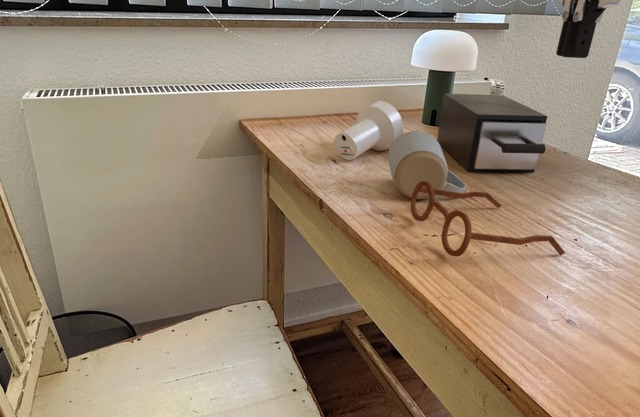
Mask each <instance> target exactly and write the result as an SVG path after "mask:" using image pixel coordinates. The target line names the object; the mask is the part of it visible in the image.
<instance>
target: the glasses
mask: <svg viewBox="0 0 640 417" xmlns="http://www.w3.org/2000/svg"><path fill="white" fill-rule="evenodd" d="M423 186H425V187H426V188H425V187H423ZM418 192H422V193H429V198H428V204H427V207H426V209H425V211H424V212H423V214H422V215H420V214H419V213H418V210H417V207H416V203H417V199H416V198H417V195H418ZM434 194H435V195H434ZM436 196H443V197H449V198H454V199H455V198H457V199H469V198H486V199H487V200H488V201H489V202H490V203H491V204H492V205H494V207H496V209H500V208H501V207H502V204H501V203H500V202H499V201H497V200H496V198H494V197H493V196H492V195H491V194H490V193H489V192H485V191H467V192H464V193H458V192H451V191H445V190H438V189H433V187H432V185H431V184H430V183H429V182H425V181H421V182H419V183H418V184H417V186H416V187H415V189H414V192H413V195H412V198H410V199H411V200H410V213H411V215H412V217H413V219H414V220H416V221H418V222H425V221H426V220H428V218H429V216H430V214H431V213H432V211H433V208H435V209H437V211H438V212H440V214H442V216H443V218H444V223H443V227H442V229H441V230H442V231H441V244H442V248H443V249H444V251H445V252H446V254H448V255H449V256H451V257H456V258H457V257H460V256H462V255H463V254H464V253H465V252H466V250H467V249H468V247H469V244H470V242H471V240H476V241H482V242H492V243H499V244H507V245H517V246H522V245H526V244H530V243H531V244H532V243H534V242H535V243H537V242H548V243H549V244H550V246H551V247H552V248H553V249H554V250H555V251H556V253H558V255H559V256H560V257H562V256H563V255H564V254H566V251H565V250H564V249H563V248H562V247H561V245H560V244H559V243H558V241H557V240H556V239H555V238H554V237H553V236H552V235H546V234H545V235H544V234H543V235H542V234H534V235H530V236H525V237H521V238H519V237H511V236H506V235H505V236H503V235H496V234H489V233H480V232H472V222H471V220H470V218H469V216H468V215H467V213H466V212H464V211H462V210H458V209H457V210H456V209H455V210H452V211H450V212H449V210H448V209H447V208H446V207H445V206H444V205H443V204H441V203H440V202H439V201H435V200H436ZM456 217H459V218H460V219H461V220H462V222H463V224H464V237H463V240H462V243H461V245H460V246H459V248H457V249H456V250H454V249H453V248H452V247H451V246H450V244H449V239H448V234H449V230H450V229H449V228H450V225H451V223H452V221H453V219H454V218H456Z"/></svg>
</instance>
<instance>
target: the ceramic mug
mask: <svg viewBox="0 0 640 417" xmlns="http://www.w3.org/2000/svg"><path fill="white" fill-rule="evenodd" d="M387 158H388V159H387V160H388V161H387V162H388V165H389V169H390V174H391V177H392V181H393V183H394V186H395V187H396V189H397V190H398V191H399V192H400V193H401V194H402V195H403V196H405V197H407V198H409V199H412V195H413V192H414V189H415V187H416V186H417V184H418V183H419V182H421V181H425V182H429V183H430V184H431V185H432V187H433V189H438V190H445V191H451V192H458V193H465V191H466V190H467V186H466V183H465V182H464V181H463V180H462V179H461V178H460V177H459V176H458V175H456V174H455V173H454V172H452V171H451V170H450V169H449V168H448V163H447V160H446V158H445V156H444V152H443V148H442V147H441V146H440V144H439V143H438V141H437V138H435V136H433V135H432V134H430V133H428V132H426V131H422V130H409V131H406V132H403V134H402V135H400V136H399V137H398V138H397V139H396V140H395V141H394V142H393V144H392V145H391V147H389V150H388V156H387ZM423 187H425V186H423ZM425 188H426V187H425ZM434 195H435V194H434ZM435 196H436V195H435ZM426 199H429V193H422V192H418V195H417V198H416V200H426Z"/></svg>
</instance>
